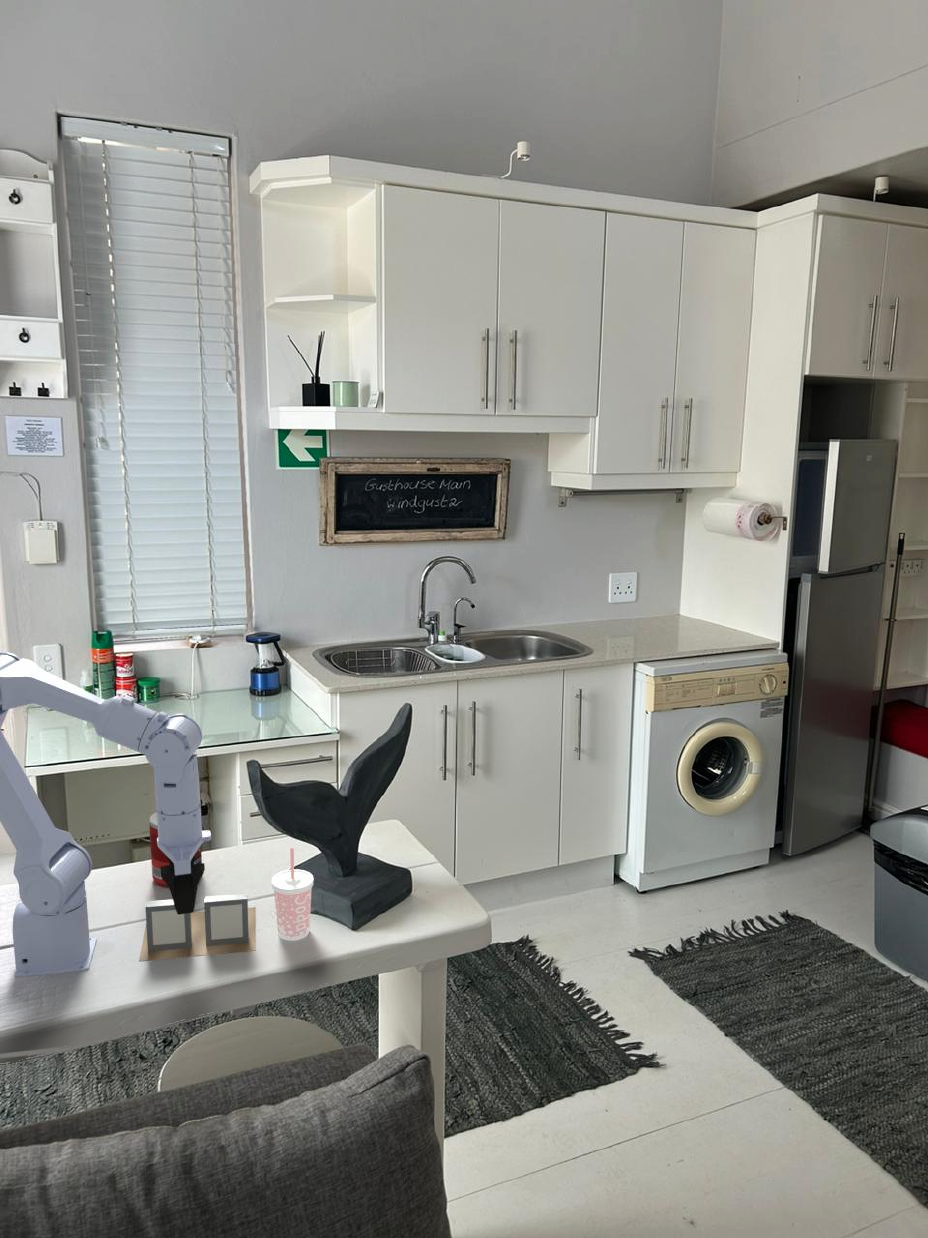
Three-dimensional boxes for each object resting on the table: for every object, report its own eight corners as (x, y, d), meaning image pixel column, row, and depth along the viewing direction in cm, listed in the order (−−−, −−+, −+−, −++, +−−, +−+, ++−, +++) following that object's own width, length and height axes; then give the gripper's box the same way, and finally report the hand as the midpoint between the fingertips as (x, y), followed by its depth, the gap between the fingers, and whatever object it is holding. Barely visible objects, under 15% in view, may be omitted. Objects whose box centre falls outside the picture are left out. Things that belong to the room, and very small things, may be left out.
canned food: (195, 891, 155) (192, 828, 152) (145, 889, 155) (141, 826, 153) (208, 868, 162) (205, 807, 160) (161, 866, 163) (157, 806, 160)
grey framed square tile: (147, 952, 137) (145, 907, 136) (149, 945, 139) (146, 901, 137) (191, 948, 139) (189, 903, 137) (192, 941, 140) (190, 898, 139)
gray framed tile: (206, 946, 139) (204, 902, 137) (206, 940, 141) (204, 896, 139) (248, 942, 140) (247, 899, 139) (248, 936, 142) (247, 893, 140)
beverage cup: (278, 949, 140) (276, 860, 136) (268, 928, 145) (266, 842, 142) (319, 940, 142) (318, 853, 139) (308, 920, 147) (307, 835, 144)
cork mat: (138, 963, 135) (138, 961, 135) (147, 918, 147) (147, 916, 147) (255, 952, 139) (255, 950, 138) (255, 909, 150) (255, 907, 150)
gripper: (212, 825, 124) (217, 920, 127) (206, 783, 138) (211, 870, 141) (155, 832, 122) (161, 929, 125) (154, 788, 136) (160, 876, 139)
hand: (184, 898), depth 133 cm, fingers open, 7 cm apart
